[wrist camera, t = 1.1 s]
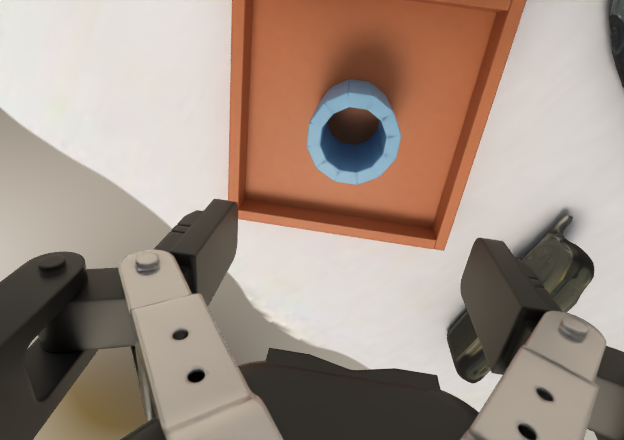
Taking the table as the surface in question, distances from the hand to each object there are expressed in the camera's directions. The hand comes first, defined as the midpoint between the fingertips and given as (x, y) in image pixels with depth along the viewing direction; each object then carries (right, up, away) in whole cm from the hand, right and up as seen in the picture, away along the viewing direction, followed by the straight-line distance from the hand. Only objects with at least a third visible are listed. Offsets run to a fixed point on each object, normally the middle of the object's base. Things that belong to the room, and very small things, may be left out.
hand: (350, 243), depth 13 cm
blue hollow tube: (+2, +8, +14) cm, 16 cm away
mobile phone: (+15, -5, +19) cm, 25 cm away
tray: (+2, +8, +14) cm, 16 cm away
